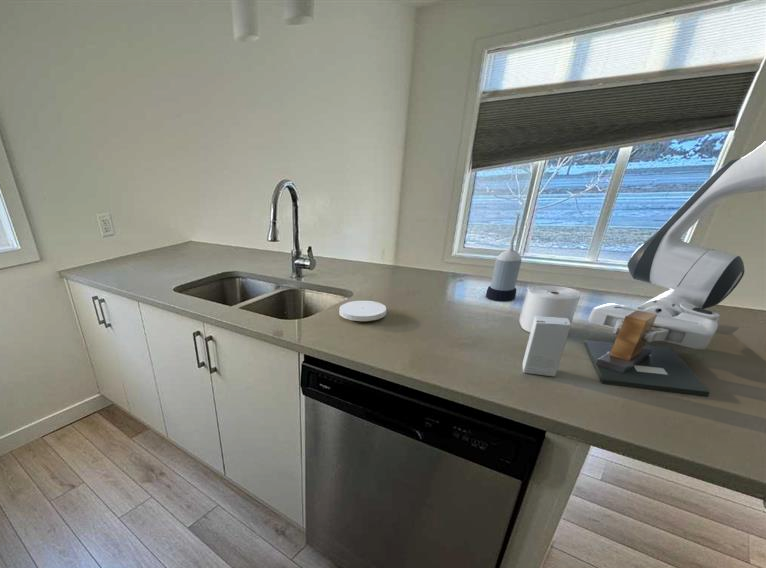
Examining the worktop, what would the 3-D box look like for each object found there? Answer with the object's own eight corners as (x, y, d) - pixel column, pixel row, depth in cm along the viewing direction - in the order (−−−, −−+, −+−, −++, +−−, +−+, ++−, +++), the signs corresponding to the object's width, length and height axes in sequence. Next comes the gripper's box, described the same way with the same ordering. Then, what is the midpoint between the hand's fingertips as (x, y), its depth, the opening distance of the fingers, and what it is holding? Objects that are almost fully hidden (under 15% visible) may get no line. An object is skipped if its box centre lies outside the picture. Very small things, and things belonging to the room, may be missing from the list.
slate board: (670, 351, 91) (672, 347, 91) (707, 396, 76) (710, 391, 75) (583, 343, 98) (585, 339, 97) (601, 383, 83) (603, 379, 82)
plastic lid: (384, 325, 117) (385, 317, 116) (336, 323, 122) (336, 315, 120) (386, 308, 129) (387, 301, 127) (342, 307, 133) (342, 300, 132)
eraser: (648, 356, 88) (669, 311, 83) (623, 373, 83) (643, 326, 78) (621, 349, 92) (639, 305, 87) (595, 365, 87) (612, 319, 82)
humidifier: (491, 291, 134) (509, 211, 122) (518, 296, 129) (540, 212, 116) (481, 298, 130) (498, 215, 117) (509, 303, 124) (530, 216, 112)
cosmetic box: (552, 368, 89) (569, 317, 83) (555, 378, 86) (573, 325, 80) (520, 364, 92) (534, 314, 86) (521, 373, 88) (536, 322, 82)
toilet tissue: (564, 340, 100) (577, 301, 95) (510, 330, 108) (519, 293, 103) (572, 325, 107) (584, 289, 102) (520, 317, 114) (529, 282, 109)
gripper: (610, 293, 96) (580, 307, 90) (731, 316, 81) (705, 334, 75) (600, 318, 99) (571, 333, 93) (716, 344, 84) (689, 364, 78)
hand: (632, 334), depth 84 cm, fingers closed on eraser, 3 cm apart
